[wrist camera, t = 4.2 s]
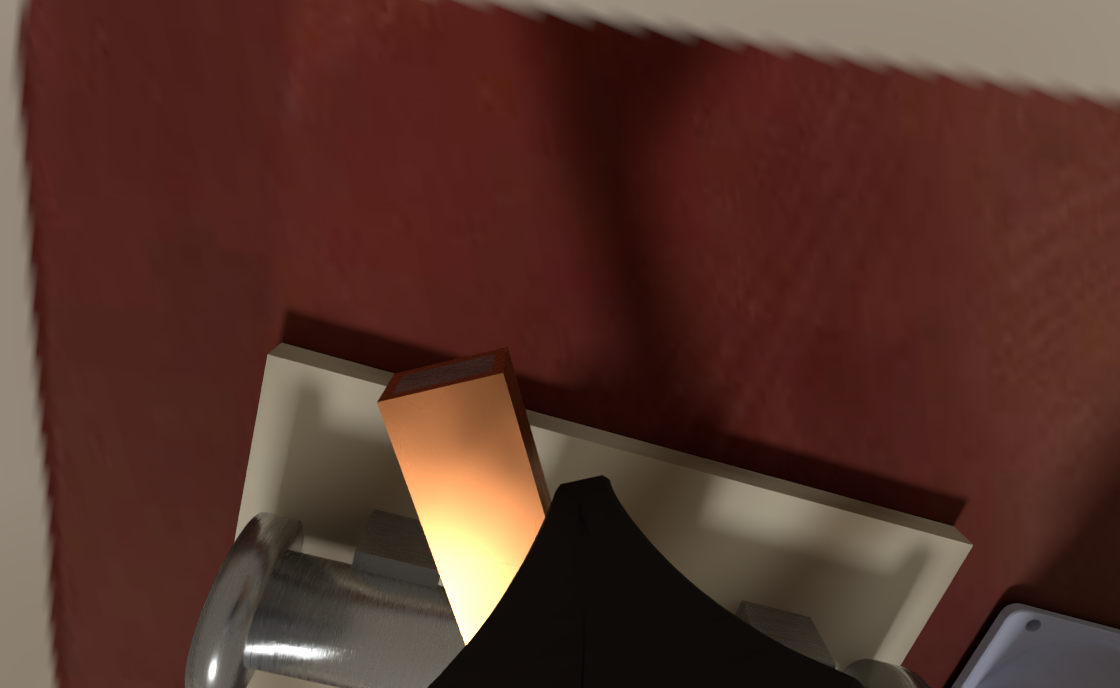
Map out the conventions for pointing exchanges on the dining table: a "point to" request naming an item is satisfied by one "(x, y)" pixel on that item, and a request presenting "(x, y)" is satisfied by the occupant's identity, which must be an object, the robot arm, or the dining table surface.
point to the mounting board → (643, 490)
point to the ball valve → (380, 614)
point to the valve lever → (469, 474)
